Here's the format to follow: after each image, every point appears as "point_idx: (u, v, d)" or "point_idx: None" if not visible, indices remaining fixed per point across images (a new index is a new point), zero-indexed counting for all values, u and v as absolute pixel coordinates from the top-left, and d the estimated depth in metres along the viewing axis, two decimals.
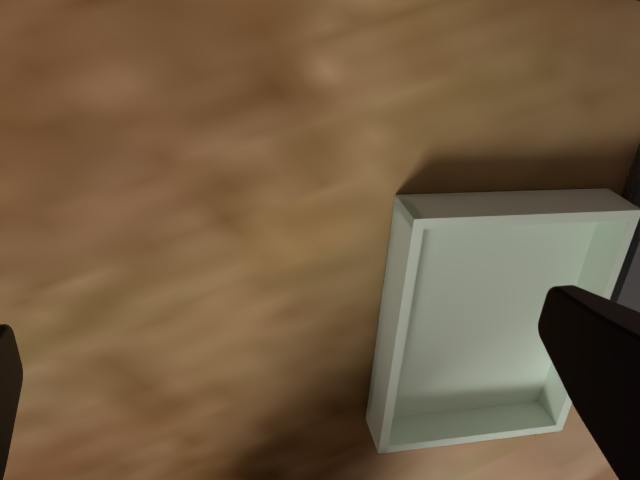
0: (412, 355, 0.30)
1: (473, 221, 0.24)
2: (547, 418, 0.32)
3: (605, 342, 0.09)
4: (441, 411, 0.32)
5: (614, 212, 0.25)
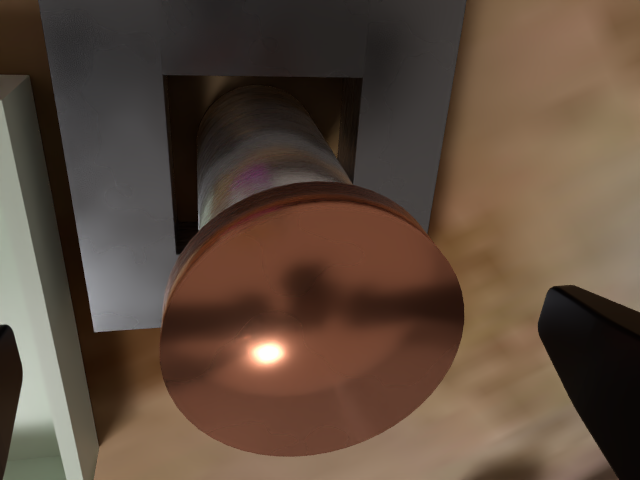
0: None
1: None
2: None
3: (605, 342, 0.09)
4: None
5: None
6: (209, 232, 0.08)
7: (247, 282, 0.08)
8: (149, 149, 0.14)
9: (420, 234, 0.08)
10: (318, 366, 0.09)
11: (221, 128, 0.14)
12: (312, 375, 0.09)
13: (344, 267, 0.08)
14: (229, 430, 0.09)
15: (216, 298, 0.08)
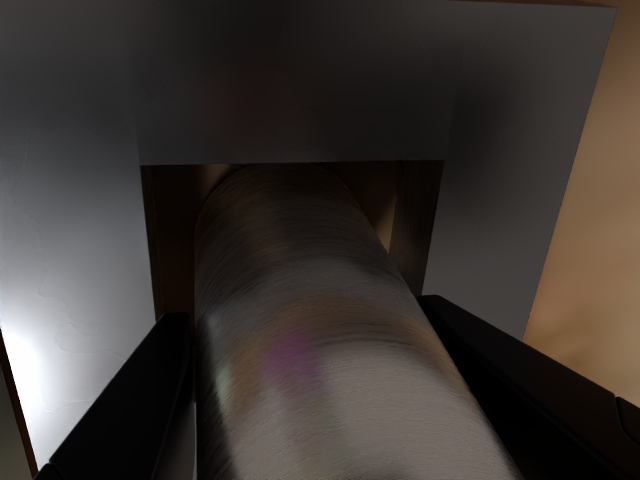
0: None
1: None
2: None
3: (451, 357, 0.08)
4: None
5: None
6: None
7: None
8: (121, 271, 0.09)
9: None
10: None
11: (232, 245, 0.09)
12: None
13: None
14: None
15: None
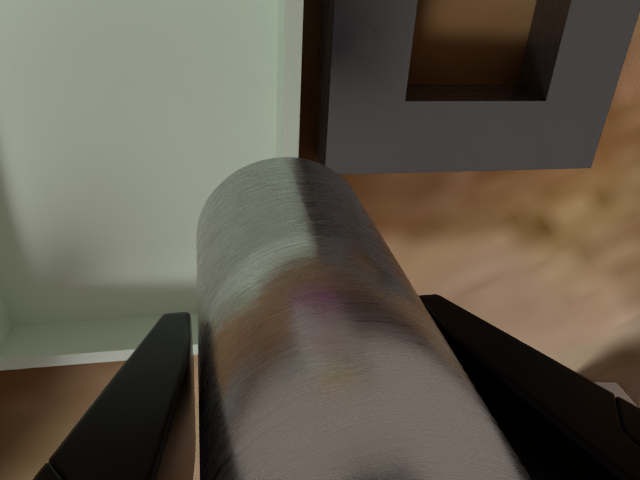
0: (26, 221, 0.19)
1: None
2: None
3: None
4: (115, 317, 0.22)
5: None
6: None
7: None
8: None
9: None
10: None
11: (235, 243, 0.09)
12: None
13: None
14: None
15: None
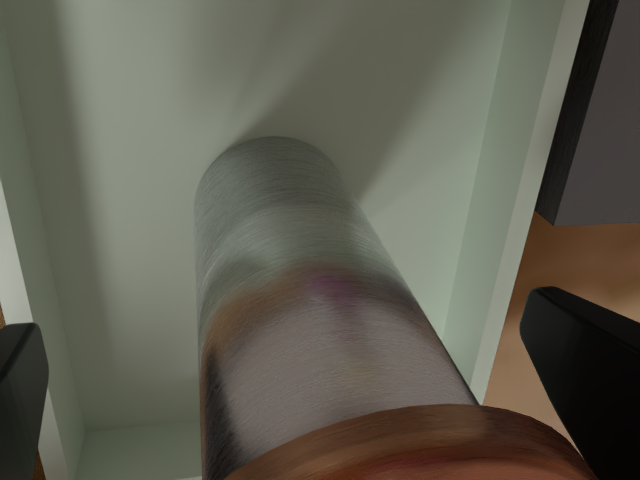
0: (121, 292, 0.13)
1: None
2: None
3: (584, 344, 0.09)
4: None
5: None
6: None
7: None
8: None
9: None
10: None
11: (228, 210, 0.10)
12: None
13: None
14: None
15: None
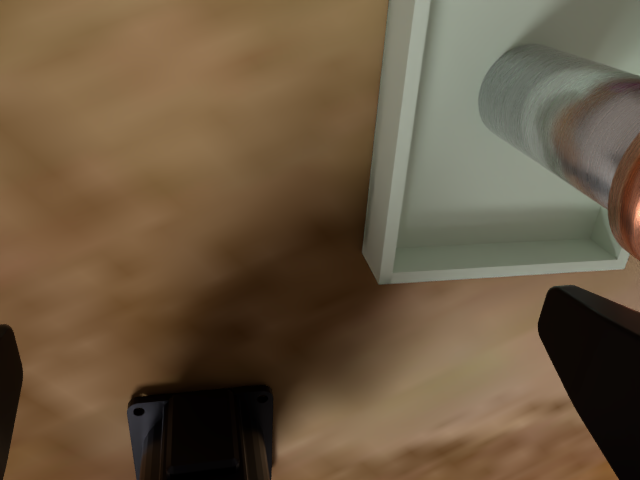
0: (426, 146, 0.21)
1: None
2: (604, 253, 0.24)
3: (605, 342, 0.09)
4: (463, 243, 0.24)
5: None
6: None
7: None
8: None
9: None
10: None
11: (541, 70, 0.18)
12: None
13: None
14: None
15: None
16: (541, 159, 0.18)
